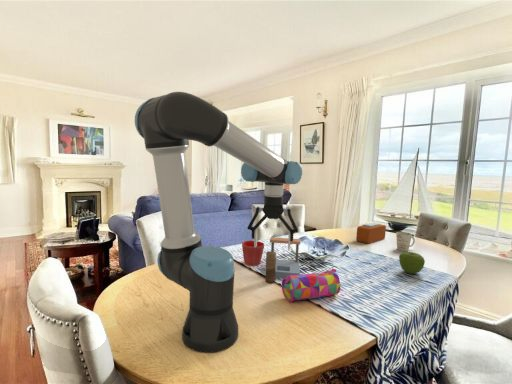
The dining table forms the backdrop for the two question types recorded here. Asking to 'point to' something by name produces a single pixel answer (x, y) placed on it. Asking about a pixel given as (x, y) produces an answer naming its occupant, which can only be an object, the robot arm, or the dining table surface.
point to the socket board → (286, 266)
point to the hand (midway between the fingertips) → (272, 247)
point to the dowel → (270, 267)
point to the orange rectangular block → (371, 233)
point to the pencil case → (311, 285)
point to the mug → (404, 241)
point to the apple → (411, 262)
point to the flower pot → (252, 252)
